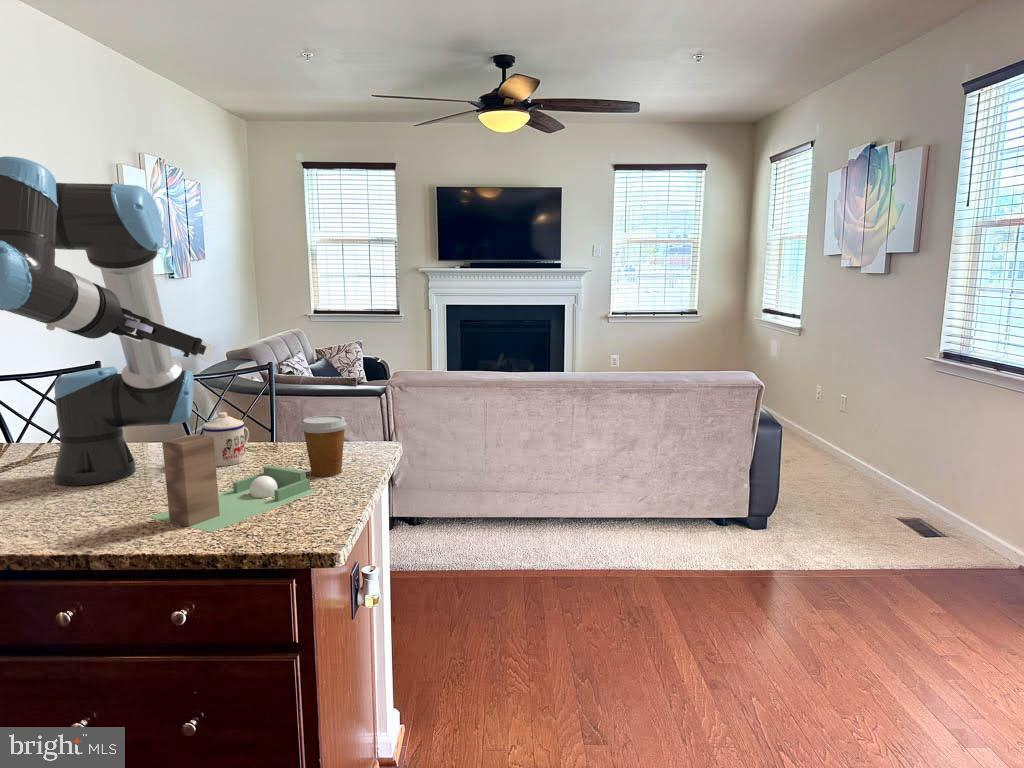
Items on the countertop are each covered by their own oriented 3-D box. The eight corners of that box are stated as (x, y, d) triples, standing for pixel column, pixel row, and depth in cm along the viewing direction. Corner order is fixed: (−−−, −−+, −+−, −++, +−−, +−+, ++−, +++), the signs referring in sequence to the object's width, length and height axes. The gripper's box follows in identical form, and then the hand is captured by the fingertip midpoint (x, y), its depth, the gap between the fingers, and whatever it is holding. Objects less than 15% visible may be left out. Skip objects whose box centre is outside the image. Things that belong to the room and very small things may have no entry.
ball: (248, 471, 129) (267, 476, 133) (240, 497, 127) (260, 502, 132) (267, 475, 126) (286, 480, 131) (259, 501, 125) (278, 506, 129)
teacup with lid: (226, 468, 152) (222, 417, 151) (195, 465, 156) (191, 415, 154) (264, 455, 163) (260, 408, 162) (234, 452, 167) (230, 406, 165)
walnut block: (169, 522, 115) (162, 441, 113) (200, 511, 120) (193, 433, 118) (189, 526, 112) (182, 444, 110) (219, 515, 118) (213, 436, 115)
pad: (150, 525, 118) (147, 497, 117) (259, 487, 138) (258, 463, 138) (212, 540, 110) (210, 511, 109) (318, 498, 131) (317, 473, 130)
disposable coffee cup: (337, 480, 143) (334, 424, 141) (295, 478, 145) (292, 423, 143) (356, 467, 152) (353, 415, 150) (317, 465, 154) (314, 414, 152)
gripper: (-5, 310, 95) (105, 346, 116) (144, 353, 91) (231, 383, 111) (15, 261, 96) (121, 305, 117) (164, 301, 92) (247, 340, 112)
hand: (175, 343), depth 114 cm, fingers open, 13 cm apart
